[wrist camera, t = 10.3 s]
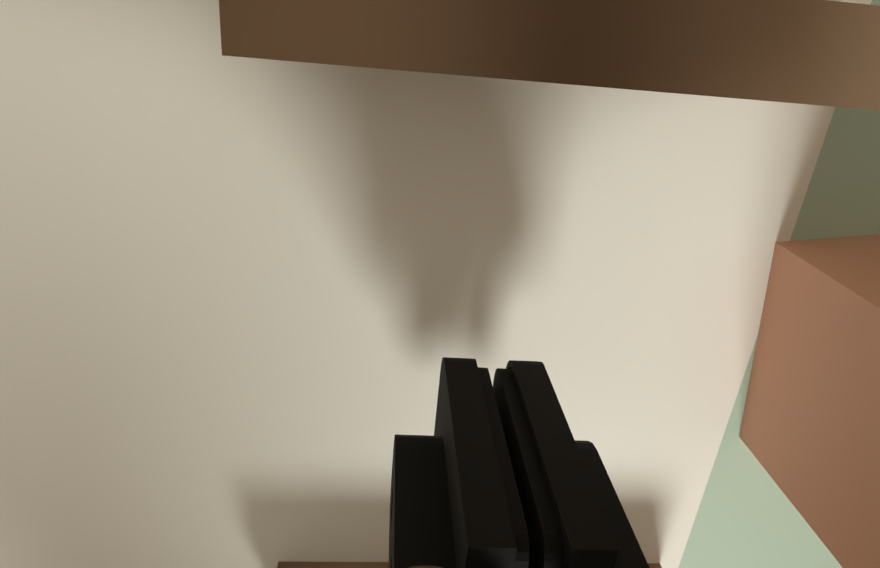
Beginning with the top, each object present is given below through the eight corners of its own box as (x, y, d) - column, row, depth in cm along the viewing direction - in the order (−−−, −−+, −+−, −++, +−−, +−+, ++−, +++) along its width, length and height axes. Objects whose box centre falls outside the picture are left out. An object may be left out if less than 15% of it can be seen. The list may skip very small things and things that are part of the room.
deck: (1499, -97, 13) (2209, -157, 8) (1032, 588, 21) (1231, 771, 16) (-387, -349, 9) (-1280, -745, 4) (-61, 587, 18) (-239, 819, 13)
